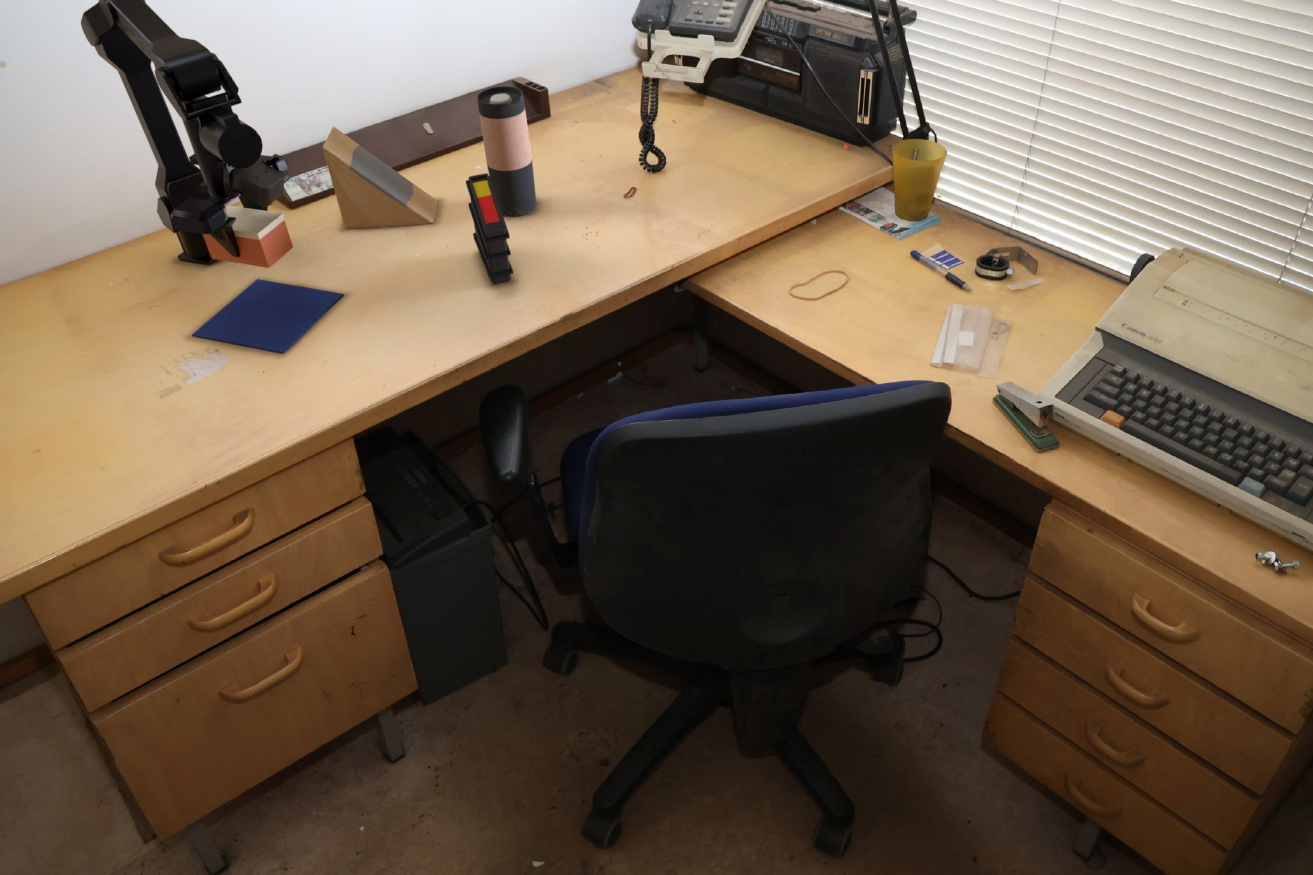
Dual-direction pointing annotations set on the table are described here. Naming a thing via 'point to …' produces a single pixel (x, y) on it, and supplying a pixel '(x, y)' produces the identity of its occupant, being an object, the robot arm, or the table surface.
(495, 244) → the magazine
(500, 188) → the travel mug
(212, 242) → the box
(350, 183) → the sandwich container
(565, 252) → the table surface
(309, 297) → the blue cloth
